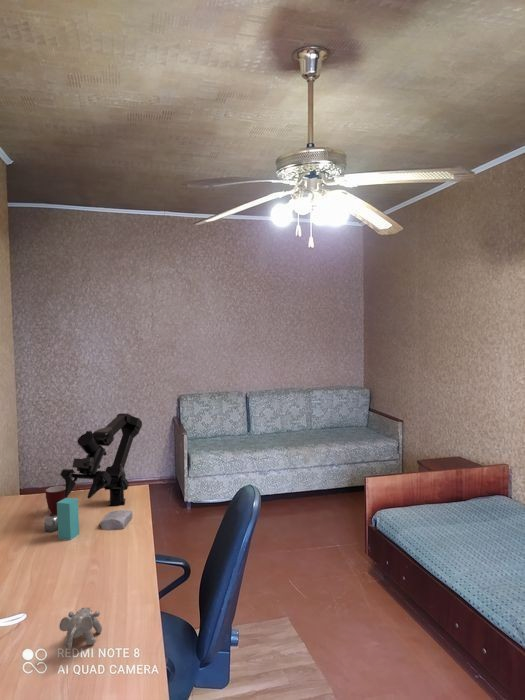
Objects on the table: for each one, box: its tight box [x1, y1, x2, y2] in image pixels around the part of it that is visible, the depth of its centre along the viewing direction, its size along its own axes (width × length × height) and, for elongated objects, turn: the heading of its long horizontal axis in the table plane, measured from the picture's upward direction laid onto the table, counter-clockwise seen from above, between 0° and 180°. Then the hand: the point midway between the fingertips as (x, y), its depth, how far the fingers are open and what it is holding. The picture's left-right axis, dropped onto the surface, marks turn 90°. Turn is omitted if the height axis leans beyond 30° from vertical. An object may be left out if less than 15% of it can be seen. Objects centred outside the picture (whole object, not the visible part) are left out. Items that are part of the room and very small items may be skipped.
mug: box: [45, 485, 68, 514], centre depth 199 cm, size 10×8×10 cm
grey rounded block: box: [43, 513, 58, 534], centre depth 182 cm, size 5×5×5 cm
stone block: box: [100, 509, 134, 531], centre depth 187 cm, size 12×5×10 cm
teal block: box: [57, 497, 80, 541], centre depth 176 cm, size 5×5×13 cm
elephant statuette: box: [58, 607, 103, 650], centre depth 116 cm, size 9×12×8 cm
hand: (77, 497), depth 181 cm, fingers open, 9 cm apart
